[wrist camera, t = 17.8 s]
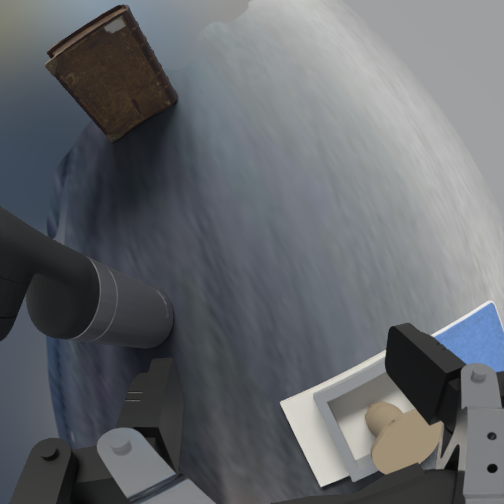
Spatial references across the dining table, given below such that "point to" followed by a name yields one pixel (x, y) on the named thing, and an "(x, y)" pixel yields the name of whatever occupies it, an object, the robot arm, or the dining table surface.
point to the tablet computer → (476, 337)
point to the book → (112, 72)
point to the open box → (342, 420)
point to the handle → (399, 436)
